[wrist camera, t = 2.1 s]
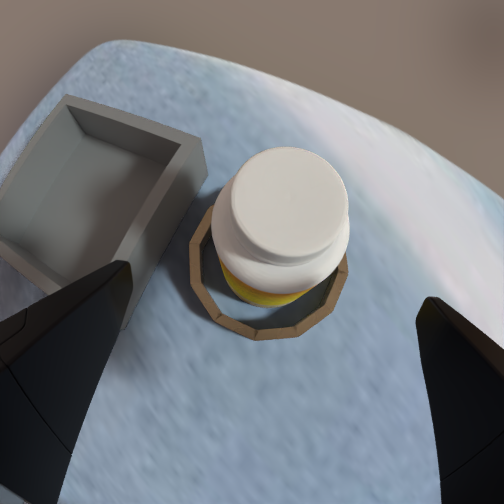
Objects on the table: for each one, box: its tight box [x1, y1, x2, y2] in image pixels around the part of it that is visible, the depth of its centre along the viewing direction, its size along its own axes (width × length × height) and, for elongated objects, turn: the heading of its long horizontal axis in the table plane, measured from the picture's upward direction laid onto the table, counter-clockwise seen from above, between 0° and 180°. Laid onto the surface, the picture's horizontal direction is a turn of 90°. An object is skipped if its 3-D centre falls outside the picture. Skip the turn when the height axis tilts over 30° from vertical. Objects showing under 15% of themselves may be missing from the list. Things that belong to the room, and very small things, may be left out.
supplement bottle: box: [211, 147, 349, 308], centre depth 15 cm, size 6×6×10 cm
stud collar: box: [189, 204, 348, 341], centre depth 19 cm, size 9×9×2 cm
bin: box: [0, 94, 208, 330], centre depth 19 cm, size 12×12×4 cm
